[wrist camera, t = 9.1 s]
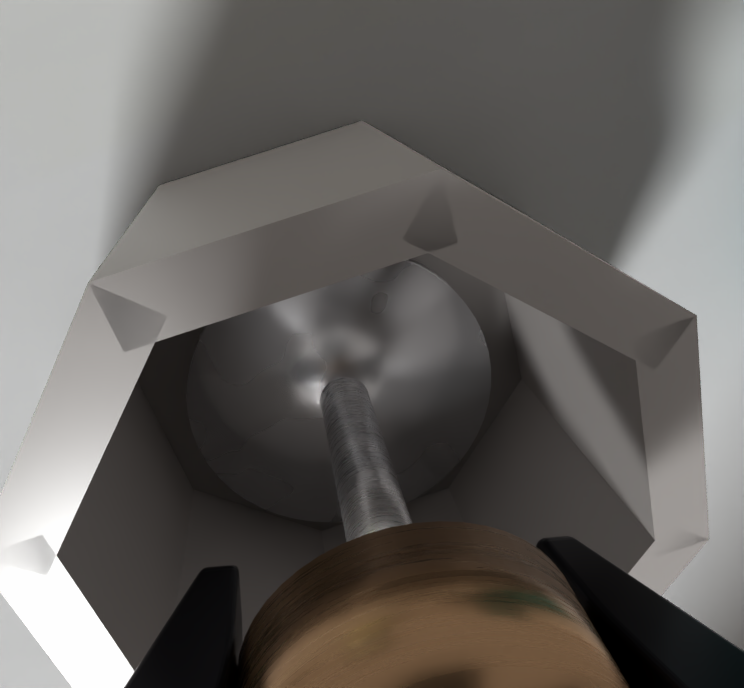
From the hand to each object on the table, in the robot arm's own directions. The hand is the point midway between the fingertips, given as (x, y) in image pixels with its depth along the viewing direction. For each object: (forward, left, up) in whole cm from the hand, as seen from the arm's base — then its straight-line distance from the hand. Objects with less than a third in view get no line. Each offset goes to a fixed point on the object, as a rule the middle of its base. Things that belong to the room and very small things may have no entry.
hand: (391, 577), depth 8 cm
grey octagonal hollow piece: (0, 0, -6) cm, 6 cm away
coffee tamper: (0, 0, -5) cm, 5 cm away
